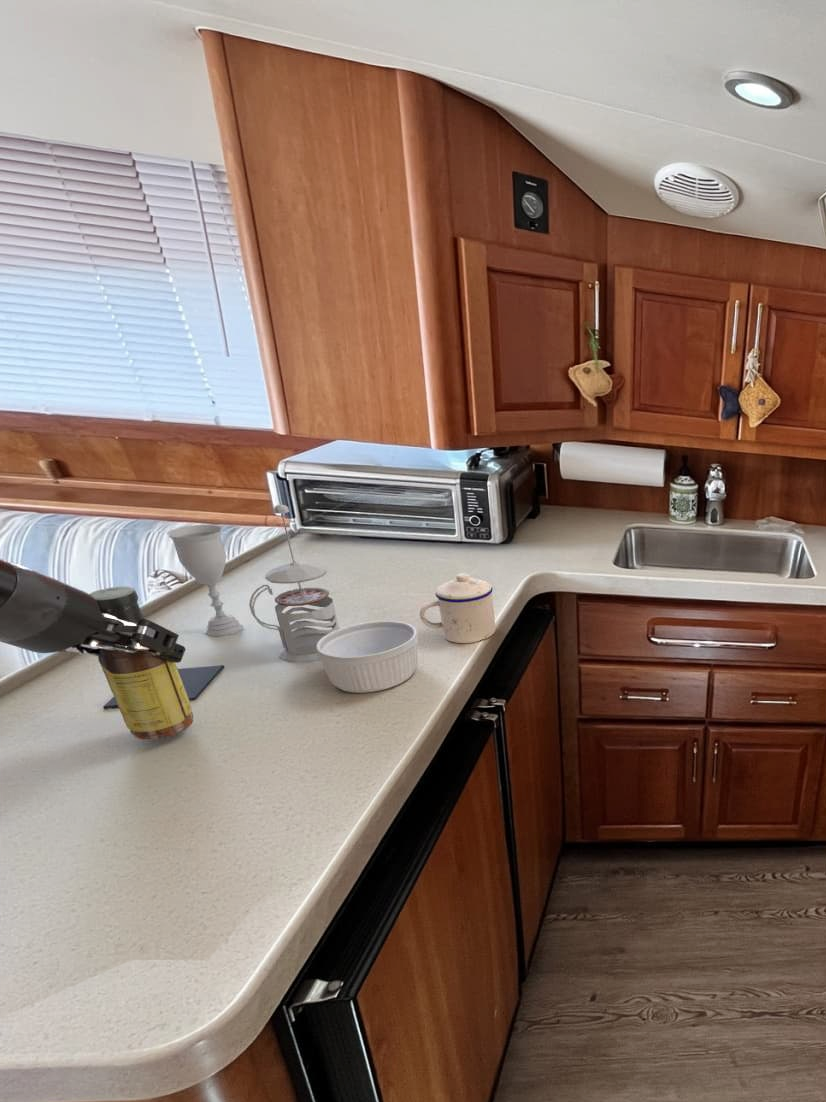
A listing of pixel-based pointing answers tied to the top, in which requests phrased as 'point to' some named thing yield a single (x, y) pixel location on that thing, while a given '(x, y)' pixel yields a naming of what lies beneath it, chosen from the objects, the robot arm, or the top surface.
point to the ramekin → (369, 655)
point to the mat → (189, 681)
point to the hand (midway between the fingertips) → (149, 654)
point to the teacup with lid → (463, 610)
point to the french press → (303, 639)
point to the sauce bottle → (142, 677)
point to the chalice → (205, 568)
